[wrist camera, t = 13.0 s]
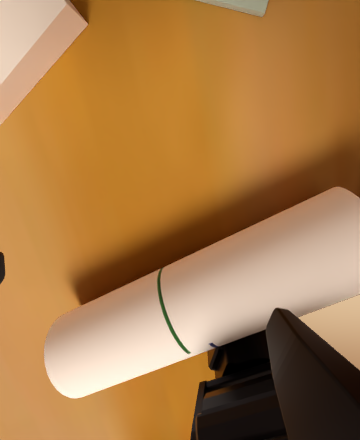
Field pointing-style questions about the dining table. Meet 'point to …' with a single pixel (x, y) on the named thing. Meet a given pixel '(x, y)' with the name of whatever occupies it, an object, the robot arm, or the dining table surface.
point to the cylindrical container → (211, 296)
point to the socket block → (32, 44)
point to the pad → (242, 5)
